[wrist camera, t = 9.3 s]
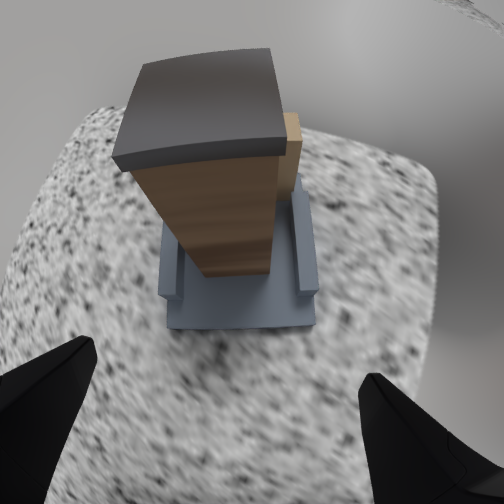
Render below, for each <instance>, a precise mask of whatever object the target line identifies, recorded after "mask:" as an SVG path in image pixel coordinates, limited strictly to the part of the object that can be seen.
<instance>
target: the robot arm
mask: <svg viewBox="0 0 504 504" xmlns="http://www.w3.org/2000/svg"><path fill="white" fill-rule="evenodd" d="M96 364H97V353H96V349H95V345H94V341H93V339H92V338H91V337H87V336H84V335H81V336H78V337H76V338H74V339H73V340H71V341H69V342H67V343H65V344H63V345H61V346H59V347H57V348H55V349H53V350H51V351H49V352H47V353H45V354H43V355H41V356H39V357H37V358H35V359H33V360H31V361H29V362H27V363H25V364H23V365H21V366H19V367H17V368H15V369H13V370H11V371H9V372H7V373H5V374H3V376H2V375H1V376H0V504H44V501H45V498H46V495H47V491H48V489H49V486H50V483H51V480H52V477H53V474H54V471H55V469H56V466H57V463H58V461H59V458H60V455H61V453H62V450H63V448H64V445H65V443H66V440H67V438H68V435H69V433H70V431H71V428H72V426H73V423H74V421H75V419H76V417H77V414H78V412H79V410H80V408H81V405H82V403H83V401H84V398H85V396H86V393H87V390H88V387H89V384H90V381H91V378H92V375H93V372H94V369H95V366H96ZM358 400H359V409H360V419H361V430H362V436H363V441H364V446H365V451H366V457H367V462H368V467H369V473H370V479H371V484H372V491H373V497H374V503H375V504H504V468H502V467H499V466H497V465H495V464H494V463H492V462H491V461H489V460H488V459H486V458H484V457H483V456H482V455H480V454H478V453H477V452H475V451H474V450H473V449H471V448H470V447H468V446H467V445H466V444H464V443H463V442H462V441H460V440H459V439H458V438H457V437H455V436H454V435H453V434H452V433H451V432H449V431H447V429H446V428H444V427H443V426H442V425H441V424H440V423H439V422H437V421H436V420H435V419H434V418H432V417H431V416H430V415H429V414H428V413H427V412H425V411H424V410H423V409H422V408H421V407H419V406H418V405H417V404H416V403H415V402H414V401H412V400H411V399H410V398H409V397H408V396H406V395H405V394H404V393H403V392H402V391H401V390H399V389H398V388H397V387H396V386H395V385H393V384H392V383H391V382H390V381H389V380H388V379H386V378H385V377H384V376H383V375H382V374H380V373H368V374H367V375H366V377H365V379H364V381H363V383H362V385H361V387H360V388H359V391H358Z"/></svg>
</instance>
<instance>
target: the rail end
mask: <svg viewBox="0 0 504 504" xmlns="http://www.w3.org/2000/svg"><path fill="white" fill-rule="evenodd" d="M286 145H287V132H286V126H285V121H284V115H283V111H282V105H281V100H280V94H279V90H278V84H277V80H276V75H275V70H274V65H273V61H272V56H271V52H270V49H269V48H260V49H240V50H228V51H218V52H210V53H201V54H194V55H188V56H182V57H176V58H171V59H165V60H161V61H156V62H151V63H147V64H143V66H142V69H141V71H140V73H139V76H138V78H137V81H136V84H135V86H134V89H133V91H132V94H131V96H130V99H129V102H128V105H127V108H126V110H125V113H124V116H123V119H122V122H121V126H120V129H119V132H118V135H117V139H116V142H115V145H114V149H113V153H112V156H111V157H112V159H113V160H114V162H115V163H116V164H117V166H118V167H119V169H120V170H121V172H128V171H130V173H131V174H132V176H133V177H134V179H135V180H136V182H137V183H138V184H139V186H140V187H141V189H142V190H143V192H144V193H145V195H146V196H147V198H148V199H149V201H150V202H151V203H152V205H153V206H154V208H155V209H156V211H157V212H158V214H159V215H160V216H161V218H162V219H163V221H164V222H165V223H166V225H167V226H168V228H169V229H170V230H171V232H172V233H173V235H174V236H175V237H176V239H177V240H178V241H179V243H180V244H181V246H182V247H183V248H184V250H185V251H186V252H187V254H188V255H189V256H190V258H191V259H192V260H193V262H194V263H195V265H196V266H197V267H198V269H199V270H200V271H201V272H202V274H203V275H204V276H205V278H210V277H229V276H247V275H264V274H270V266H271V255H272V243H273V231H274V219H275V207H276V194H277V181H278V167H279V156H286Z"/></svg>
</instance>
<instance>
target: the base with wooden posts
mask: <svg viewBox="0 0 504 504" xmlns="http://www.w3.org/2000/svg"><path fill="white" fill-rule="evenodd" d="M283 115H284V121H285V126H286V132H287V145H286V156H279V167H278V181H277V194H276V207H275V219H274V231H273V243H272V255H271V266H270V274H264V275H247V276H229V277H210V278H205V276H204V275H203V274H202V272H201V271H200V270H199V269H198V267H197V266H196V265H195V263H194V262H193V260H192V259H191V258H190V256H189V255H188V254H187V252H186V251H185V250H184V248H183V247H182V246H181V244H180V243H179V241H178V240H177V239H176V237H175V236H174V235H173V233H172V232H171V230H170V229H169V228H168V226H167V225H166V223H165V222H164V221H163V230H162V241H161V253H160V267H159V284H158V295H160V296H161V297H163V298H165V299H167V300H168V303H167V328H169V329H187V330H223V329H262V328H283V327H300V326H313V325H315V324H316V322H315V307H314V295H315V293H316V292H317V291H318V290H319V282H318V272H317V262H316V252H315V243H314V234H313V226H312V218H311V210H310V203H309V196H308V191H303V190H302V183H301V176H300V173H297V171H298V165H299V159H300V153H301V147H302V141H303V140H302V135H301V130H300V124H299V119H298V114H297V113H283Z"/></svg>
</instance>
